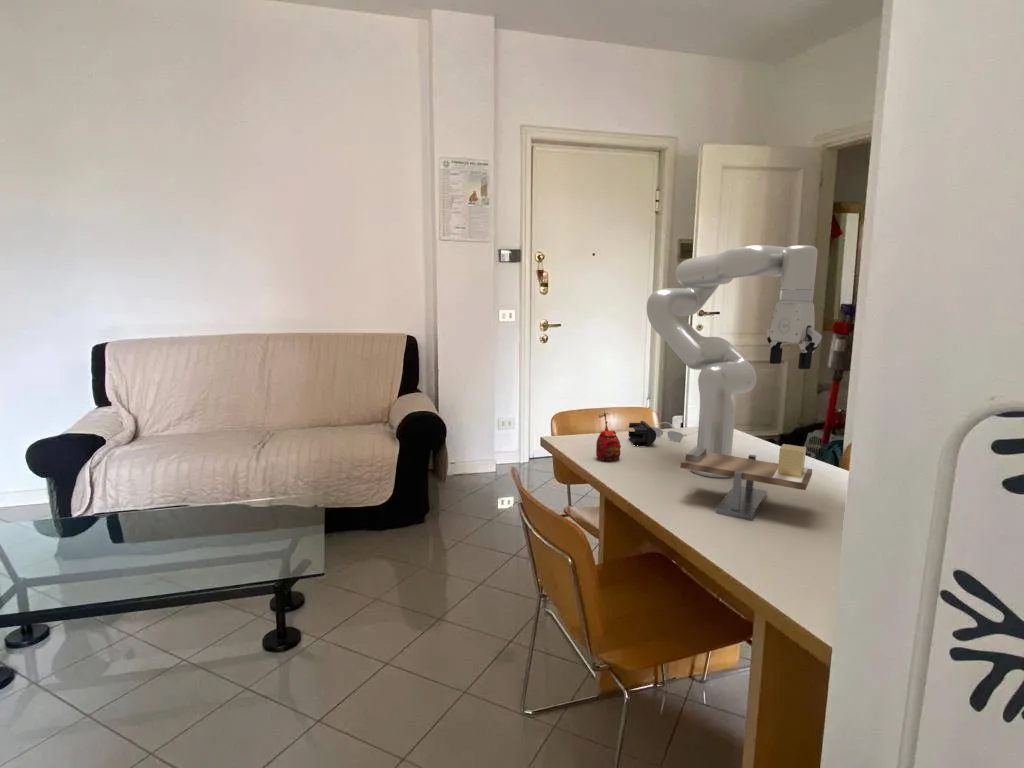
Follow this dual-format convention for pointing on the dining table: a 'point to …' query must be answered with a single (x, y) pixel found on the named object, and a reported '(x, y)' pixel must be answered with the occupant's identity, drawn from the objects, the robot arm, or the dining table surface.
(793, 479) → the balance beam
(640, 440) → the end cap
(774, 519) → the dining table surface
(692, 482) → the dining table surface
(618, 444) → the red clay folk toy
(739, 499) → the beam stand
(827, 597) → the dining table surface
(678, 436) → the eyeglasses
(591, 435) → the dining table surface
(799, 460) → the tan wooden cube
